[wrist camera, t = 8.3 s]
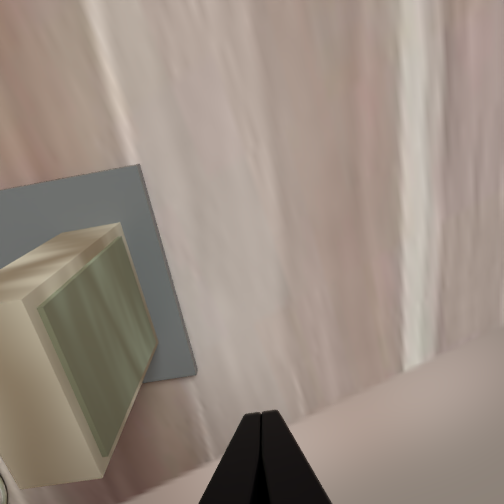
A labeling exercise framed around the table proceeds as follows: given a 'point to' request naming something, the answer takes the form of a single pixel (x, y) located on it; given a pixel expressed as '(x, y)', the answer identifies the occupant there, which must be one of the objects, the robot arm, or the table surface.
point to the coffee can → (3, 492)
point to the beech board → (70, 355)
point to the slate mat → (97, 214)
